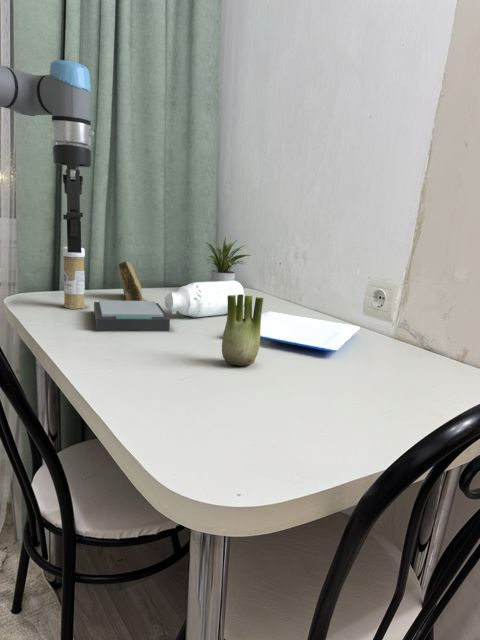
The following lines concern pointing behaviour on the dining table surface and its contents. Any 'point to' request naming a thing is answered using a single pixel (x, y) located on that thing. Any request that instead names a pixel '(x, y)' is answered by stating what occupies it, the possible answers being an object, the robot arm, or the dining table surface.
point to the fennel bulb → (242, 330)
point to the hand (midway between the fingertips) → (74, 249)
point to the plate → (305, 331)
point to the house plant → (224, 262)
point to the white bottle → (203, 298)
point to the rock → (130, 282)
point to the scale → (130, 316)
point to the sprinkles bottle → (74, 279)
